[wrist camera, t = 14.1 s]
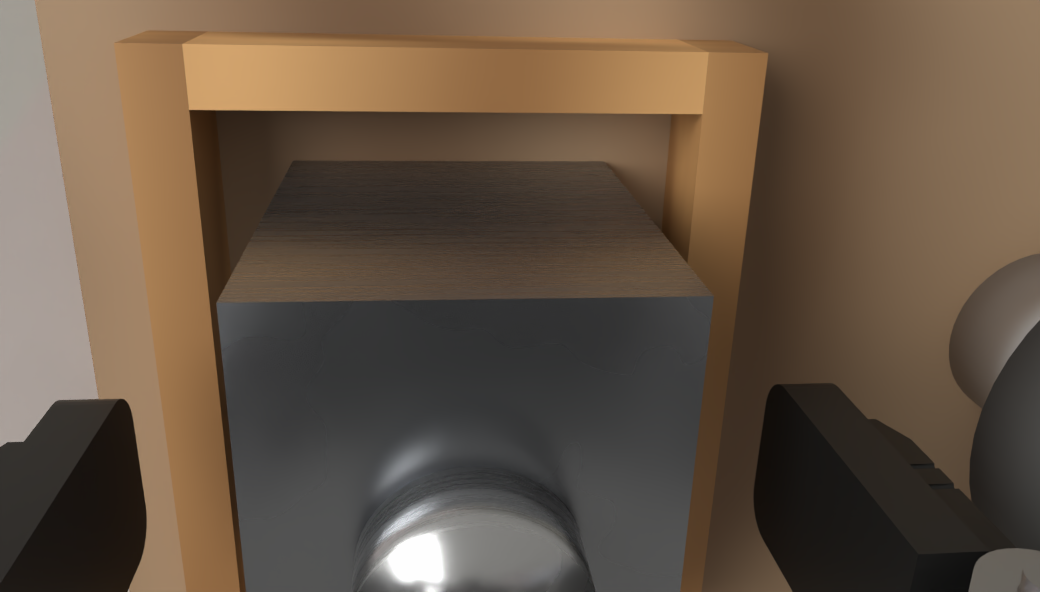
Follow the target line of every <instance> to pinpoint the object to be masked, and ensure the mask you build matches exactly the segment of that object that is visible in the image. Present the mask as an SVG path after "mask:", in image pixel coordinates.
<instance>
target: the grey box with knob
mask: <svg viewBox="0 0 1040 592" xmlns="http://www.w3.org/2000/svg"><path fill="white" fill-rule="evenodd" d="M713 299H714V296H713V295H712V293H711V292H710V291H709V290H708V288H707V287H706V286H705V285H704V283H703V282H702V281H701V280H700V279H699V277H698V276H697V275H696V274H695V272H694V271H693V270H692V269H691V267H690V266H689V265H688V264H687V263H686V261H685V260H684V259H683V258H682V256H681V255H680V254H679V253H678V251H677V250H676V249H675V248H674V247H673V245H672V244H671V243H670V242H669V240H668V239H667V238H666V237H665V235H664V234H663V233H662V232H661V231H660V229H659V228H658V227H657V226H656V224H655V223H654V222H653V221H652V219H651V218H650V217H649V216H648V215H647V213H646V212H645V211H644V210H643V208H642V207H641V206H640V205H639V203H638V202H637V201H636V200H635V199H634V197H633V196H632V195H631V194H630V192H629V191H628V190H627V189H626V187H625V186H624V185H623V184H622V183H621V181H620V180H619V179H618V178H617V176H616V175H615V174H614V173H613V171H612V170H611V169H610V168H609V167H608V165H607V164H606V163H605V162H604V161H293V162H292V163H291V165H290V167H289V169H288V171H287V173H286V175H285V176H284V178H283V180H282V182H281V184H280V186H279V188H278V189H277V191H276V193H275V195H274V197H273V199H272V201H271V202H270V204H269V206H268V208H267V210H266V212H265V213H264V215H263V217H262V219H261V221H260V223H259V225H258V226H257V228H256V230H255V232H254V234H253V236H252V238H251V239H250V241H249V243H248V245H247V247H246V249H245V251H244V252H243V254H242V256H241V258H240V260H239V262H238V264H237V265H236V267H235V269H234V271H233V273H232V275H231V277H230V278H229V280H228V282H227V284H226V286H225V288H224V290H223V291H222V293H221V295H220V297H219V299H218V301H217V303H216V304H217V314H218V323H219V333H220V343H221V353H222V362H223V372H224V382H225V392H226V401H227V411H228V421H229V431H230V441H231V450H232V460H233V470H234V480H235V489H236V499H237V509H238V519H239V529H240V538H241V548H242V558H243V568H244V577H245V587H246V592H680V589H681V580H682V571H683V563H684V554H685V545H686V536H687V528H688V519H689V510H690V501H691V492H692V484H693V475H694V466H695V457H696V448H697V440H698V431H699V422H700V413H701V405H702V396H703V387H704V378H705V369H706V361H707V352H708V343H709V334H710V326H711V317H712V308H713Z"/></svg>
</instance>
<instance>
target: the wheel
mask: <svg viewBox="0 0 1040 592" xmlns="http://www.w3.org/2000/svg"><path fill="white" fill-rule="evenodd" d="M969 485H970V493H971V501H972V502H973V503H974V504H975V505H976V506H977V507H978V509H979V510H980V511H981V512H982V513H983V514H984V515H985V516H986V517H987V518H988V519H989V520H990V521H991V522H992V523H993V524H994V525H995V526H996V527H997V528H998V529H999V530H1000V531H1001V532H1002V533H1003V534H1004V535H1005V536H1006V537H1007V538H1008V539H1009V540H1010V541H1011V542H1012V543H1013V545H1014V546H1015V547H1016V548H1020V549H1031V550H1036V551H1040V320H1039V321H1038V323H1037V324H1036V325H1035V326H1034V327H1033V328H1032V329H1031V330H1030V331H1029V332H1028V333H1027V335H1026V336H1025V337H1024V339H1023V340H1022V341H1021V343H1020V344H1019V345H1018V347H1017V348H1016V349H1015V351H1014V352H1013V353H1012V355H1011V356H1010V357H1009V359H1008V360H1007V362H1006V364H1005V365H1004V367H1003V369H1002V370H1001V372H1000V374H999V376H998V377H997V379H996V381H995V382H994V384H993V386H992V388H991V391H990V393H989V395H988V397H987V399H986V402H985V404H984V406H983V408H982V411H981V414H980V418H979V421H978V424H977V427H976V430H975V434H974V438H973V444H972V450H971V456H970V473H969Z"/></svg>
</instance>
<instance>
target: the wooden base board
mask: <svg viewBox="0 0 1040 592" xmlns="http://www.w3.org/2000/svg"><path fill="white" fill-rule="evenodd" d="M35 4H36V10H37V17H38V23H39V29H40V35H41V41H42V48H43V54H44V60H45V66H46V73H47V79H48V85H49V91H50V98H51V104H52V110H53V116H54V122H55V129H56V135H57V141H58V147H59V154H60V160H61V166H62V172H63V179H64V185H65V191H66V197H67V203H68V210H69V216H70V222H71V228H72V235H73V241H74V247H75V253H76V260H77V266H78V272H79V278H80V285H81V291H82V297H83V303H84V309H85V316H86V322H87V328H88V334H89V341H90V347H91V353H92V359H93V366H94V372H95V378H96V384H97V390H98V397H99V399H125V400H126V401H127V403H128V404H129V406H130V409H131V412H132V416H133V422H134V428H135V435H136V442H137V449H138V456H139V463H140V469H141V476H142V483H143V490H144V497H145V504H146V513H147V530H146V540H145V547H144V551H143V555H142V559H141V561H140V564H139V566H138V569H137V571H136V573H135V575H134V578H133V580H132V582H131V584H130V587H129V590H130V592H246V587H245V577H244V568H243V558H242V548H241V538H240V529H239V519H238V509H237V499H236V489H235V480H234V470H233V460H232V450H231V441H230V431H229V421H228V411H227V401H226V392H225V382H224V372H223V362H222V353H221V343H220V333H219V323H218V314H217V304H216V303H217V301H218V299H219V297H220V295H221V293H222V291H223V290H224V288H225V286H226V284H227V282H228V280H229V278H230V277H231V275H232V273H233V271H234V269H235V267H236V265H237V264H238V262H239V260H240V258H241V256H242V254H243V252H244V251H245V249H246V247H247V245H248V243H249V241H250V239H251V238H252V236H253V234H254V232H255V230H256V228H257V226H258V225H259V223H260V221H261V219H262V217H263V215H264V213H265V212H266V210H267V208H268V206H269V204H270V202H271V201H272V199H273V197H274V195H275V193H276V191H277V189H278V188H279V186H280V184H281V182H282V180H283V178H284V176H285V175H286V173H287V171H288V169H289V167H290V165H291V163H292V162H293V161H604V162H605V163H606V164H607V165H608V167H609V168H610V169H611V170H612V171H613V173H614V174H615V175H616V176H617V178H618V179H619V180H620V181H621V183H622V184H623V185H624V186H625V187H626V189H627V190H628V191H629V192H630V194H631V195H632V196H633V197H634V199H635V200H636V201H637V202H638V203H639V205H640V206H641V207H642V208H643V210H644V211H645V212H646V213H647V215H648V216H649V217H650V218H651V219H652V221H653V222H654V223H655V224H656V226H657V227H658V228H659V229H660V231H661V232H662V233H663V234H664V235H665V237H666V238H667V239H668V240H669V242H670V243H671V244H672V245H673V247H674V248H675V249H676V250H677V251H678V253H679V254H680V255H681V256H682V258H683V259H684V260H685V261H686V263H687V264H688V265H689V266H690V267H691V269H692V270H693V271H694V272H695V274H696V275H697V276H698V277H699V279H700V280H701V281H702V282H703V283H704V285H705V286H706V287H707V288H708V290H709V291H710V292H711V293H712V295H713V296H714V299H713V308H712V317H711V326H710V334H709V343H708V352H707V361H706V369H705V378H704V387H703V396H702V405H701V413H700V422H699V431H698V440H697V448H696V457H695V466H694V475H693V484H692V492H691V501H690V510H689V519H688V528H687V536H686V545H685V554H684V563H683V571H682V580H681V589H680V592H792V590H791V588H790V586H789V584H788V583H787V581H786V579H785V577H784V576H783V574H782V572H781V570H780V569H779V567H778V565H777V563H776V562H775V560H774V558H773V556H772V555H771V553H770V551H769V549H768V548H767V546H766V544H765V542H764V541H763V539H762V537H761V535H760V532H759V529H758V526H757V523H756V518H755V512H754V501H753V493H754V482H755V475H756V468H757V461H758V454H759V447H760V440H761V433H762V426H763V419H764V412H765V405H766V400H767V396H768V394H769V391H770V390H771V388H772V387H773V386H774V385H776V384H806V383H833V384H835V385H836V386H838V387H839V388H840V389H841V391H842V392H843V393H844V394H845V395H846V396H847V397H848V398H849V399H850V400H851V401H852V402H853V404H854V405H855V406H856V407H857V408H858V409H859V410H860V411H861V412H862V413H863V414H864V415H865V416H866V418H867V419H877V420H878V421H880V422H882V423H884V424H885V425H887V426H889V427H891V428H892V429H894V430H896V431H898V432H899V433H901V434H903V435H905V436H906V437H908V438H910V439H911V440H912V441H913V442H914V443H915V444H916V445H917V446H918V447H919V448H920V449H921V450H922V451H923V452H924V453H925V454H926V455H927V456H928V457H929V458H930V459H931V460H932V461H933V462H934V463H935V464H934V466H935V468H940V469H941V470H942V471H943V473H944V474H945V475H946V476H947V477H948V478H949V479H950V480H951V481H952V482H953V483H954V488H955V489H958V488H959V489H960V490H961V491H962V492H963V493H964V494H965V495H966V496H967V497H968V498H969V499H970V500H971V493H970V485H969V473H970V456H971V450H972V444H973V438H974V434H975V430H976V427H977V424H978V421H979V418H980V414H981V411H982V408H983V406H984V404H985V402H986V399H987V397H988V395H989V393H990V391H991V388H992V386H993V384H994V382H995V381H996V379H997V377H998V376H999V374H1000V372H1001V370H1002V369H1003V367H1004V365H1005V364H1006V362H1007V360H1008V359H1009V357H1010V356H1011V355H1012V353H1013V352H1014V351H1015V349H1016V348H1017V347H1018V345H1019V344H1020V343H1021V341H1022V340H1023V339H1024V337H1025V336H1026V335H1027V333H1028V332H1029V331H1030V330H1031V329H1032V328H1033V327H1034V326H1035V325H1036V324H1037V323H1038V321H1039V320H1040V0H35Z"/></svg>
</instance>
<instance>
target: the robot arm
mask: <svg viewBox="0 0 1040 592" xmlns="http://www.w3.org/2000/svg"><path fill="white" fill-rule="evenodd" d="M934 464H935V463H934V462H933V461H932V460H931V459H930V458H929V457H928V456H927V455H926V454H925V453H924V452H923V451H922V450H921V449H920V448H919V447H918V446H917V445H916V444H915V443H914V442H913V441H912V440H911V439H910V438H908V437H906V436H905V435H903V434H901V433H899V432H898V431H896V430H894V429H892V428H891V427H889V426H887V425H885V424H884V423H882V422H880V421H878V420H877V419H867V418H866V416H865V415H864V414H863V413H862V412H861V411H860V410H859V409H858V408H857V407H856V406H855V405H854V404H853V402H852V401H851V400H850V399H849V398H848V397H847V396H846V395H845V394H844V393H843V392H842V391H841V389H840V388H839V387H838V386H836V385H835V384H833V383H806V384H776V385H774V386H773V387H772V388H771V390H770V391H769V394H768V396H767V400H766V405H765V412H764V419H763V426H762V433H761V440H760V447H759V454H758V461H757V468H756V475H755V482H754V493H753V501H754V512H755V518H756V523H757V526H758V529H759V532H760V535H761V537H762V539H763V541H764V542H765V544H766V546H767V548H768V549H769V551H770V553H771V555H772V556H773V558H774V560H775V562H776V563H777V565H778V567H779V569H780V570H781V572H782V574H783V576H784V577H785V579H786V581H787V583H788V584H789V586H790V588H791V590H792V592H1040V551H1036V550H1031V549H1020V548H1016V547H1015V546H1014V545H1013V543H1012V542H1011V541H1010V540H1009V539H1008V538H1007V537H1006V536H1005V535H1004V534H1003V533H1002V532H1001V531H1000V530H999V529H998V528H997V527H996V526H995V525H994V524H993V523H992V522H991V521H990V520H989V519H988V518H987V517H986V516H985V515H984V514H983V513H982V512H981V511H980V510H979V509H978V507H977V506H976V505H975V504H974V503H973V502H972V501H971V500H970V499H969V498H968V497H967V496H966V495H965V494H964V493H963V492H962V491H961V490H960V489H959V488H958V489H955V488H954V483H953V482H952V481H951V480H950V479H949V478H948V477H947V476H946V475H945V474H944V473H943V471H942V470H941V469H940V468H935V466H934ZM146 530H147V513H146V504H145V497H144V490H143V483H142V476H141V469H140V463H139V456H138V449H137V442H136V435H135V428H134V422H133V416H132V412H131V409H130V406H129V404H128V403H127V401H126V400H125V399H88V400H58V401H56V402H55V403H54V404H53V405H52V406H51V407H50V409H49V410H48V411H47V412H46V414H45V415H44V416H43V418H42V419H41V420H40V422H39V423H38V424H37V425H36V427H35V428H34V429H33V431H32V432H31V433H30V435H29V436H28V437H27V438H26V440H25V441H24V442H7V443H6V444H4V445H3V446H1V447H0V592H127V591H128V589H129V587H130V584H131V582H132V580H133V578H134V575H135V573H136V571H137V569H138V566H139V564H140V561H141V559H142V555H143V551H144V547H145V540H146Z"/></svg>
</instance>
